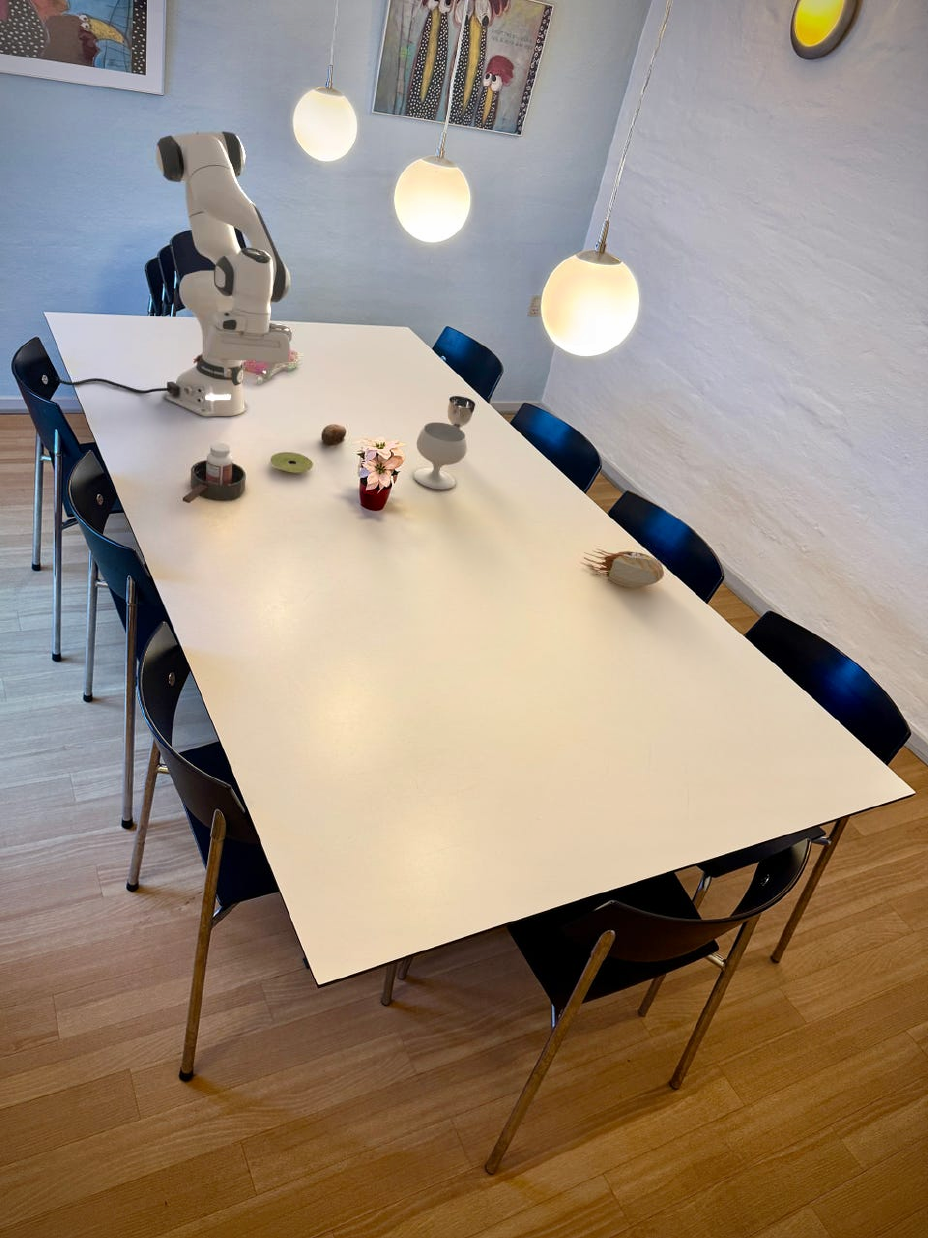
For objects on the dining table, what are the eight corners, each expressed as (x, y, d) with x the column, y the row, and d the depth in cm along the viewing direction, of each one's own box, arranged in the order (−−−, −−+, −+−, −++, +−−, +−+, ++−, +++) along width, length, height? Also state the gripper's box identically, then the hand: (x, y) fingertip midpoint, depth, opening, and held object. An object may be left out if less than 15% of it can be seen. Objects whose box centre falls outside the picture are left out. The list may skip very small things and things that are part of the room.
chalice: (403, 467, 254) (412, 419, 245) (448, 467, 260) (458, 421, 251) (419, 492, 244) (429, 443, 235) (465, 492, 250) (477, 444, 241)
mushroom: (355, 432, 258) (345, 416, 253) (348, 452, 253) (337, 436, 249) (331, 436, 261) (321, 420, 256) (324, 456, 257) (313, 440, 252)
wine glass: (469, 448, 273) (479, 403, 265) (457, 456, 267) (468, 410, 259) (446, 438, 275) (456, 393, 267) (435, 446, 269) (444, 400, 261)
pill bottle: (227, 480, 226) (230, 440, 220) (233, 492, 222) (236, 452, 216) (203, 480, 224) (204, 440, 217) (208, 492, 219) (210, 452, 213)
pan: (180, 490, 219) (180, 474, 216) (207, 470, 229) (208, 454, 227) (228, 507, 217) (229, 491, 215) (253, 486, 228) (255, 470, 225)
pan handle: (182, 501, 209) (182, 497, 209) (202, 486, 216) (202, 482, 216) (189, 503, 209) (189, 500, 208) (208, 488, 216) (208, 485, 216)
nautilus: (573, 578, 226) (584, 554, 238) (655, 603, 222) (662, 577, 235) (580, 551, 222) (591, 528, 234) (664, 576, 218) (670, 551, 231)
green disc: (277, 479, 233) (277, 472, 232) (264, 458, 241) (265, 452, 239) (317, 477, 238) (318, 471, 237) (304, 457, 246) (305, 451, 245)
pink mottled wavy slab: (261, 387, 276) (262, 372, 273) (220, 371, 279) (221, 356, 276) (310, 363, 300) (312, 349, 297) (272, 349, 303) (273, 334, 300)
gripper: (289, 321, 220) (283, 376, 227) (205, 314, 211) (202, 371, 217) (296, 329, 216) (290, 384, 223) (211, 321, 206) (208, 379, 213)
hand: (246, 377), depth 220 cm, fingers open, 8 cm apart
